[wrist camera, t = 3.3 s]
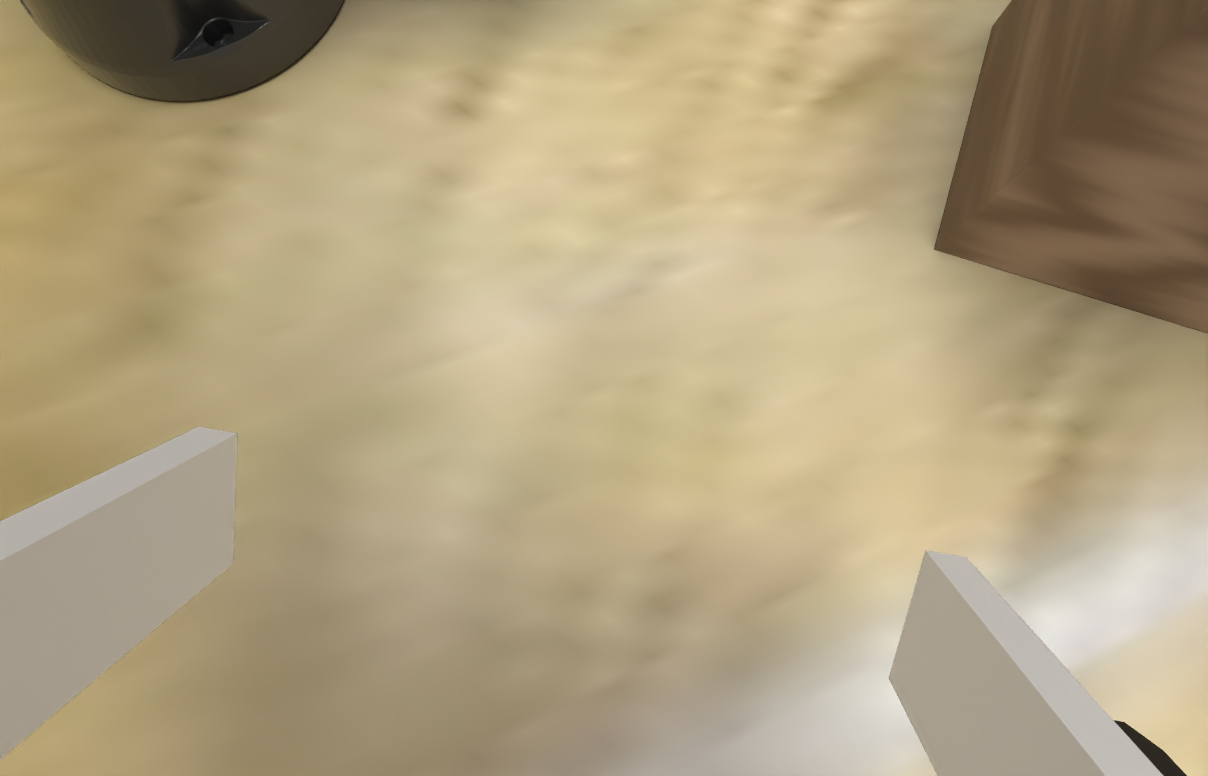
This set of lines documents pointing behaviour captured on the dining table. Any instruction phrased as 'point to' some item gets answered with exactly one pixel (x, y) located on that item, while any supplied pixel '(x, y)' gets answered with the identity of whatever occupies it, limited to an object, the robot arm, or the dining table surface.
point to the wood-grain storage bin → (1091, 154)
